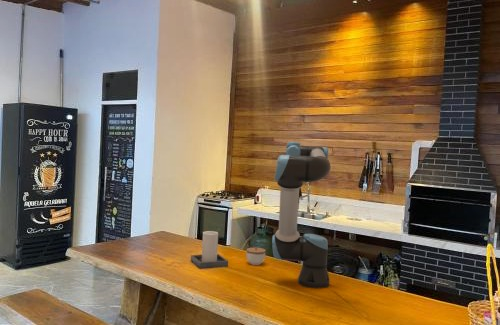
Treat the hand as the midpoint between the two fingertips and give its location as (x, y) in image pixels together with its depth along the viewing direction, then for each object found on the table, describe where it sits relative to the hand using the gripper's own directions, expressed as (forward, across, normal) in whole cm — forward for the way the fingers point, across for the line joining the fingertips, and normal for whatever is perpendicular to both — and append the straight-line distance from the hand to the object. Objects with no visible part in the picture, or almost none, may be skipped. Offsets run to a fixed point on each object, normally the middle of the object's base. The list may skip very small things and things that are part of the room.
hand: (290, 207), depth 240 cm
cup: (+31, +10, +43) cm, 54 cm away
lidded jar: (+32, +4, +18) cm, 37 cm away
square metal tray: (+32, +10, +43) cm, 54 cm away
